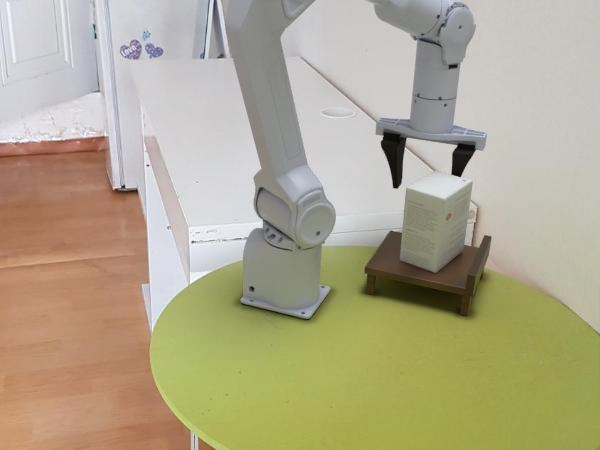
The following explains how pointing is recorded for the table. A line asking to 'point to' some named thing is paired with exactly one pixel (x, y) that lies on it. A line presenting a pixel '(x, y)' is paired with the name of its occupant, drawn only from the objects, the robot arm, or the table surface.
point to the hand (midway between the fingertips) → (424, 190)
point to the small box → (435, 220)
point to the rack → (451, 278)
